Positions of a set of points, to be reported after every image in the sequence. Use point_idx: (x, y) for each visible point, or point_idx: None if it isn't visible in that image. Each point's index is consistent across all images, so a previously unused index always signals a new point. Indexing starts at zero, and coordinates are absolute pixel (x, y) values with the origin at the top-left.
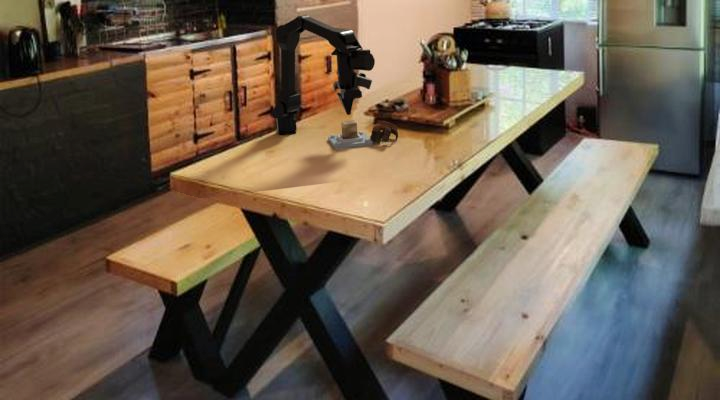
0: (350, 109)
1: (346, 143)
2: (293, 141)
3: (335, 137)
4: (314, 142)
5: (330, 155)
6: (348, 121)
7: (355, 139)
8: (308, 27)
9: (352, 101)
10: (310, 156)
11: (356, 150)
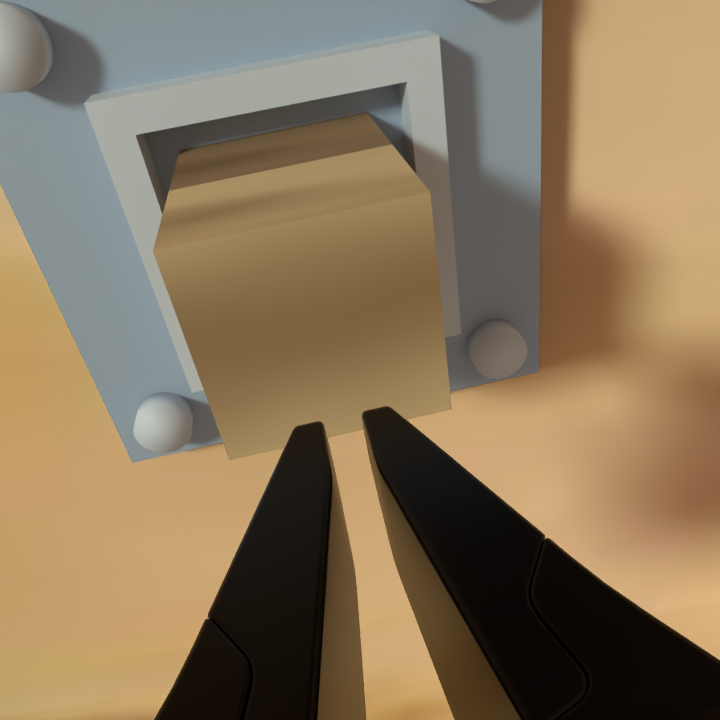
0: (463, 487)
1: (489, 262)
2: (155, 665)
3: (180, 388)
4: (214, 534)
5: (692, 381)
6: (255, 350)
7: (443, 154)
8: None
9: (715, 675)
10: (637, 511)
11: (659, 134)
